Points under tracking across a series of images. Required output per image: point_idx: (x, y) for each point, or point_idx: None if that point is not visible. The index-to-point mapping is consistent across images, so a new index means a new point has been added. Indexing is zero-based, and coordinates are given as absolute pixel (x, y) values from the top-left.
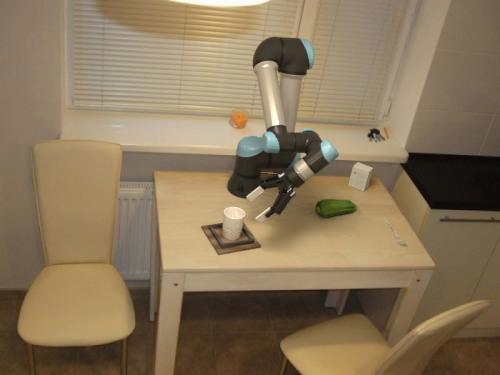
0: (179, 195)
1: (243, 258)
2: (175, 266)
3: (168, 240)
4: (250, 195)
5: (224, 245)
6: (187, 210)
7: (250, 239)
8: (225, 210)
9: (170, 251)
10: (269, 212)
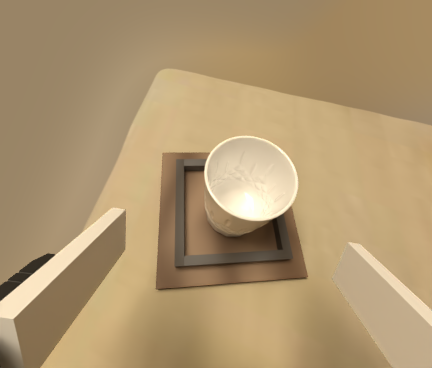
0: (408, 152)
1: (127, 210)
2: (156, 76)
3: (237, 88)
4: (364, 266)
5: (176, 165)
6: (346, 150)
7: (181, 252)
8: (276, 152)
9: (203, 82)
10: (3, 292)
